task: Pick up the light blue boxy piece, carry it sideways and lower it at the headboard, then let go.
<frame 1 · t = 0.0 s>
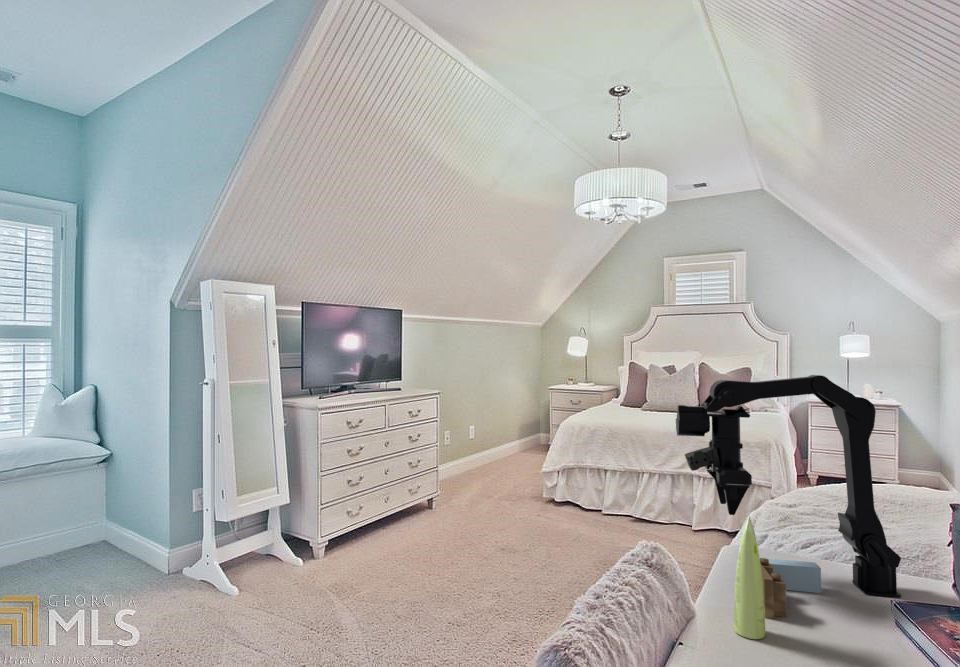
hand: (727, 509, 121), 15 cm above the table, fingers open, 9 cm apart
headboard: (776, 603, 108), on the table
tube: (749, 634, 96), on the table
light blue boxy piece: (783, 586, 116), on the table
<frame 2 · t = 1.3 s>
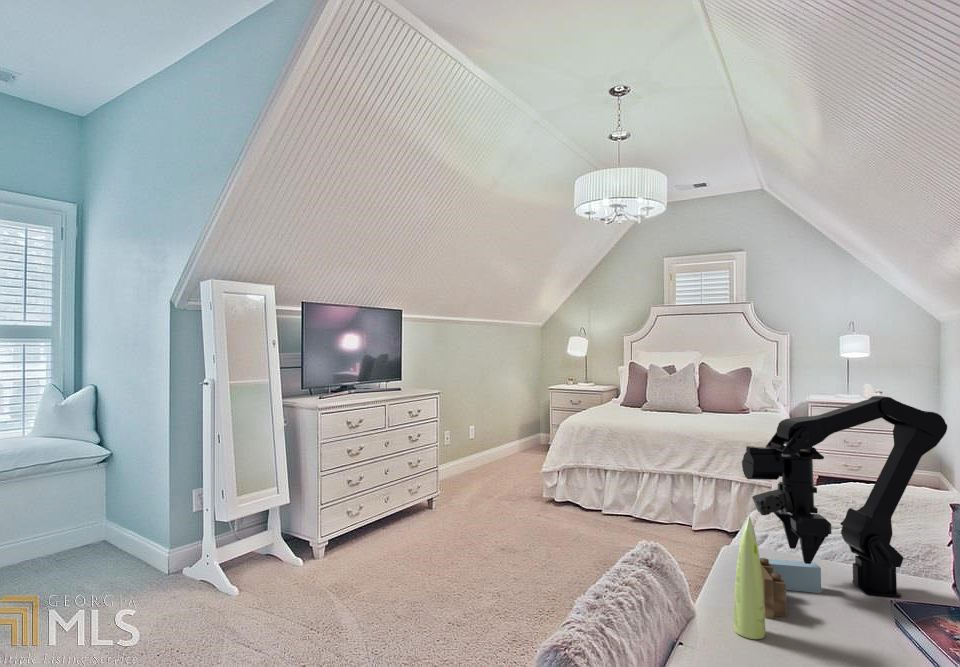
hand: (799, 555, 115), 7 cm above the table, fingers open, 9 cm apart
nothing on the table moved.
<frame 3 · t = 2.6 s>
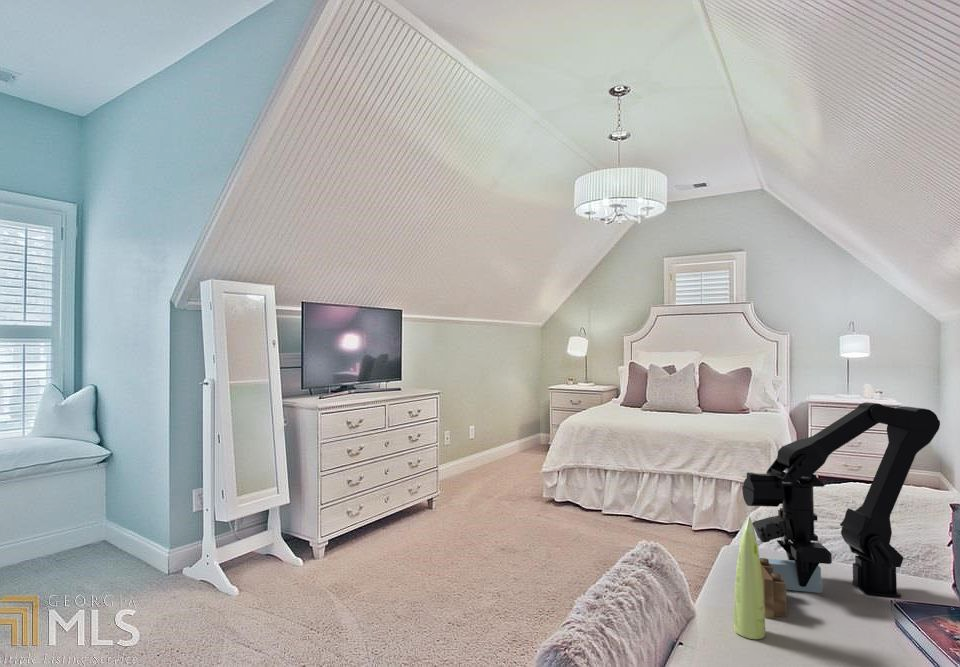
hand: (799, 582, 115), 1 cm above the table, fingers closed on light blue boxy piece, 3 cm apart
light blue boxy piece: (783, 586, 116), on the table, touching gripper
everything else where it was.
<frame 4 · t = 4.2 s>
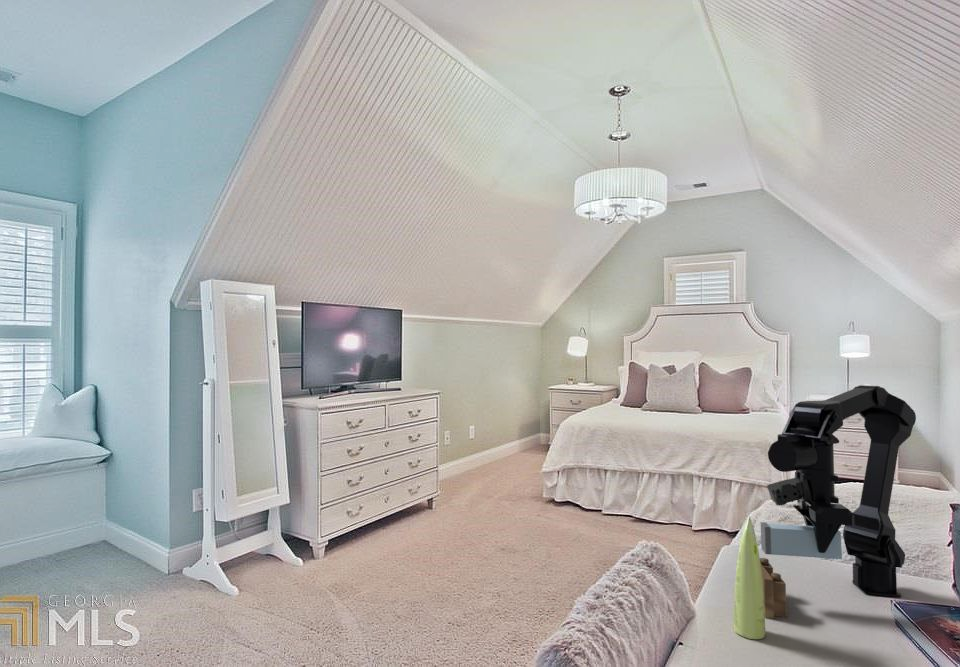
hand: (818, 549, 107), 11 cm above the table, fingers closed on light blue boxy piece, 3 cm apart
light blue boxy piece: (800, 553, 107), point 10 cm above the table, touching gripper
everything else where it was.
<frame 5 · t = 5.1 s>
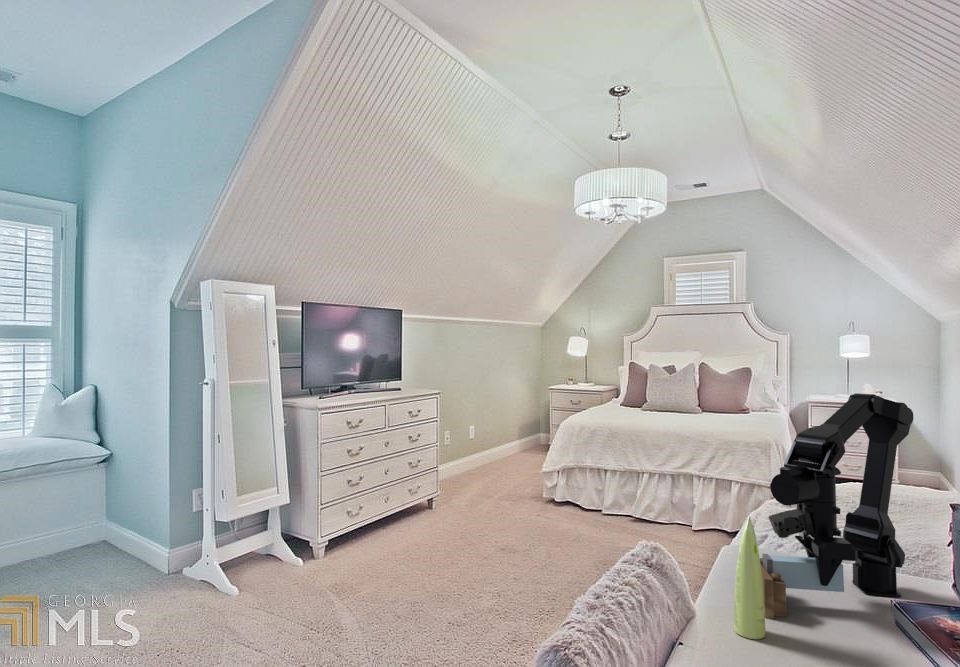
hand: (820, 581, 106), 5 cm above the table, fingers closed on light blue boxy piece, 3 cm apart
light blue boxy piece: (803, 586, 107), point 4 cm above the table, touching gripper
everything else where it was.
when the fingers open (2 cm above the table, at t = 5.8 s): light blue boxy piece drops 1 cm, on the table.
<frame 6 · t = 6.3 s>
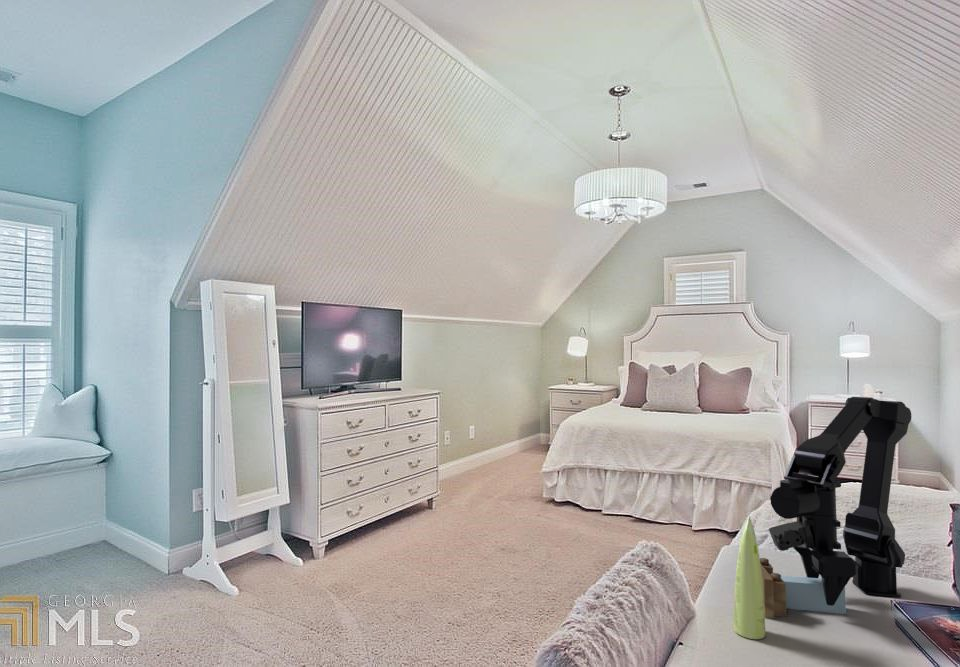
hand: (820, 594, 106), 2 cm above the table, fingers open, 9 cm apart
light blue boxy piece: (804, 606, 106), on the table
everything else where it was.
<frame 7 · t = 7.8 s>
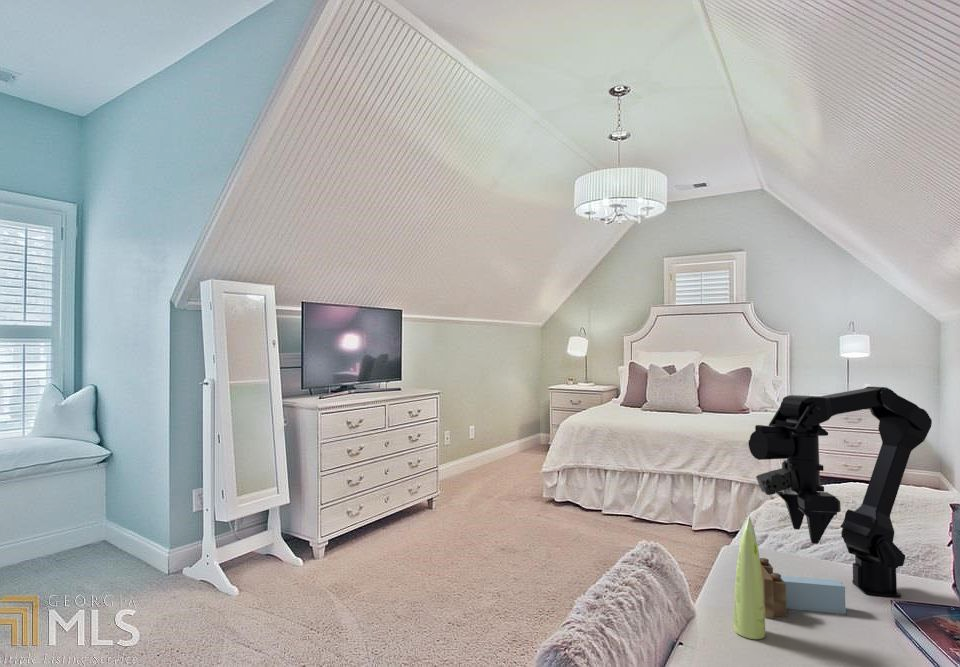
hand: (805, 536, 112), 12 cm above the table, fingers open, 9 cm apart
nothing on the table moved.
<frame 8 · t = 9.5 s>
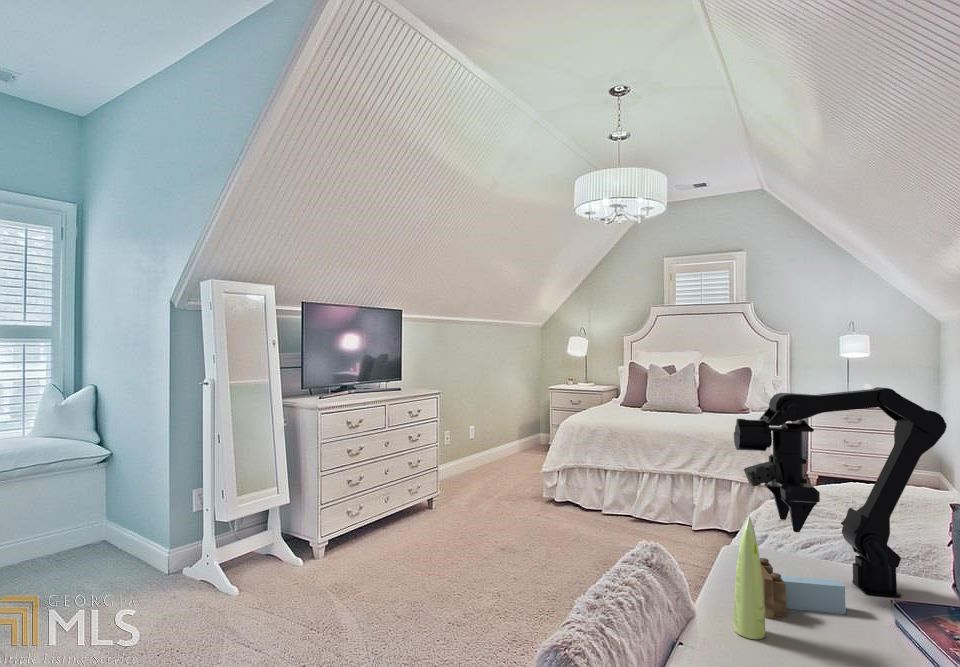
hand: (789, 525, 118), 12 cm above the table, fingers open, 9 cm apart
nothing on the table moved.
at the end: light blue boxy piece 0.3 cm from the target spot on the table beside the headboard, on the table; light blue boxy piece tilted 0°; the gripper is holding nothing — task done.
